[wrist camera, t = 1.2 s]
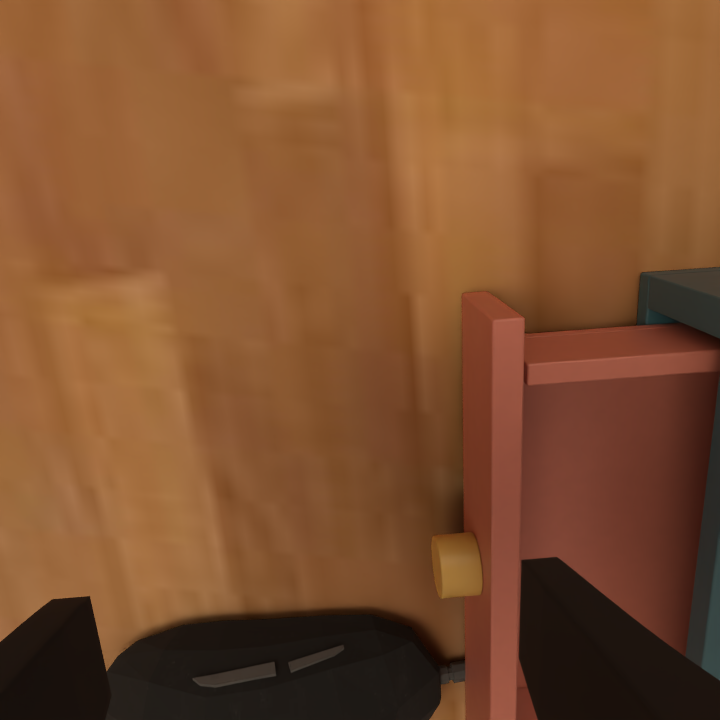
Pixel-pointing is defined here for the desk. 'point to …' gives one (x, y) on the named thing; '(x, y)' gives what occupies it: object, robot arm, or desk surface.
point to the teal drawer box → (716, 544)
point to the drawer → (575, 479)
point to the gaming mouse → (280, 672)
